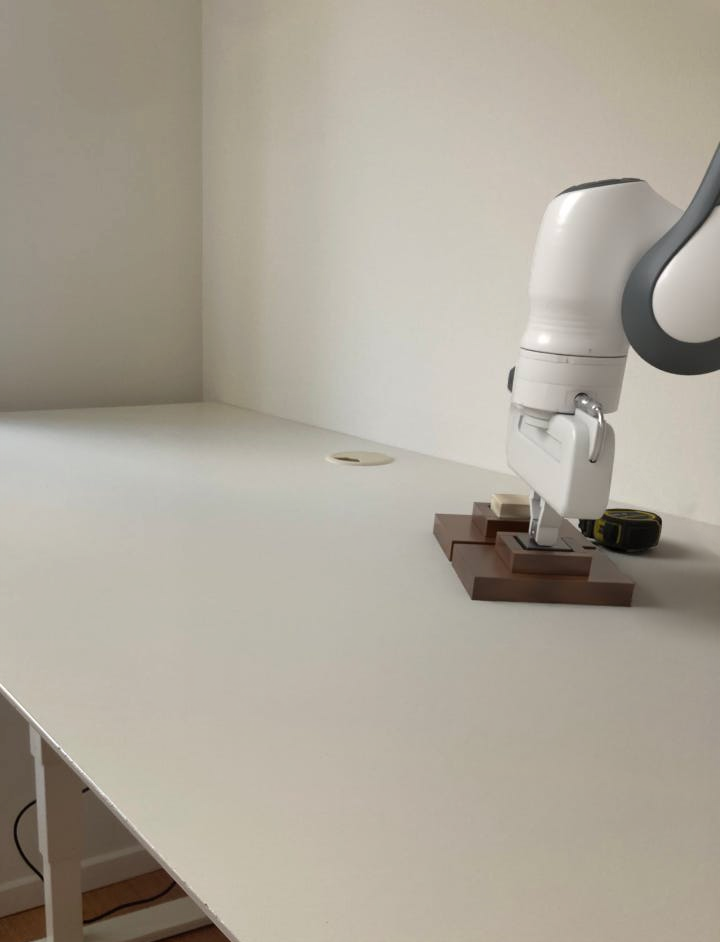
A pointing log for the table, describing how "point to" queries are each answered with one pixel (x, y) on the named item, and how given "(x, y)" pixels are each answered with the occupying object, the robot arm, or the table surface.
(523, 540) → the black key
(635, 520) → the tape measure
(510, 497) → the ivory key
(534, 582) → the key block near
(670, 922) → the table surface
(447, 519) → the key block far
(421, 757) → the table surface
